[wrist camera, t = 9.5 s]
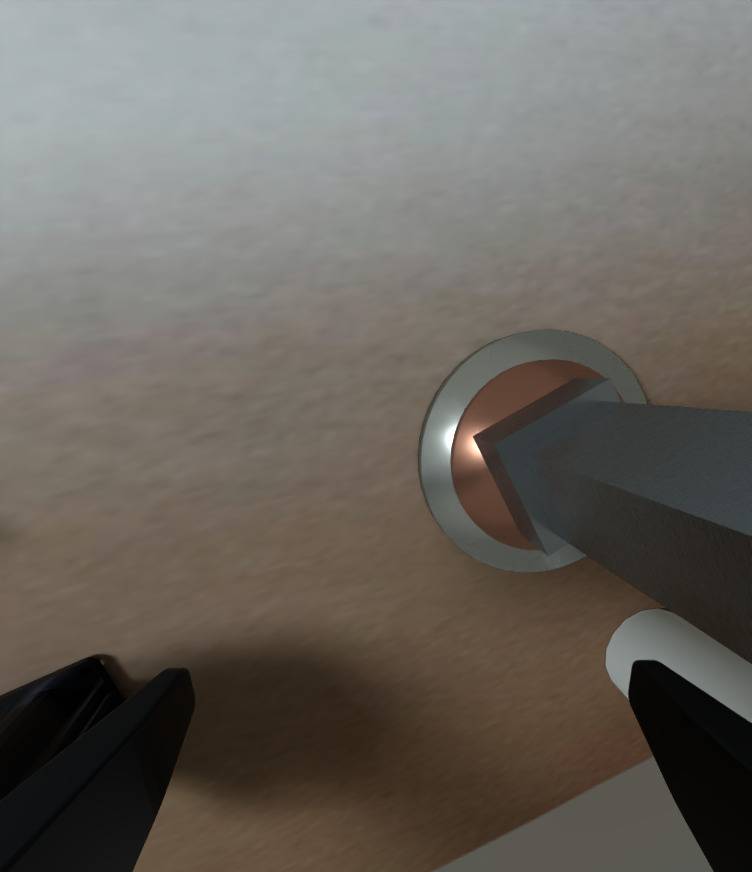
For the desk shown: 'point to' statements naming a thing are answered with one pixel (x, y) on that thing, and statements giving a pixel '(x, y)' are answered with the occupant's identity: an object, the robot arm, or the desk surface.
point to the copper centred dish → (486, 405)
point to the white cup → (681, 657)
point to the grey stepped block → (637, 496)
